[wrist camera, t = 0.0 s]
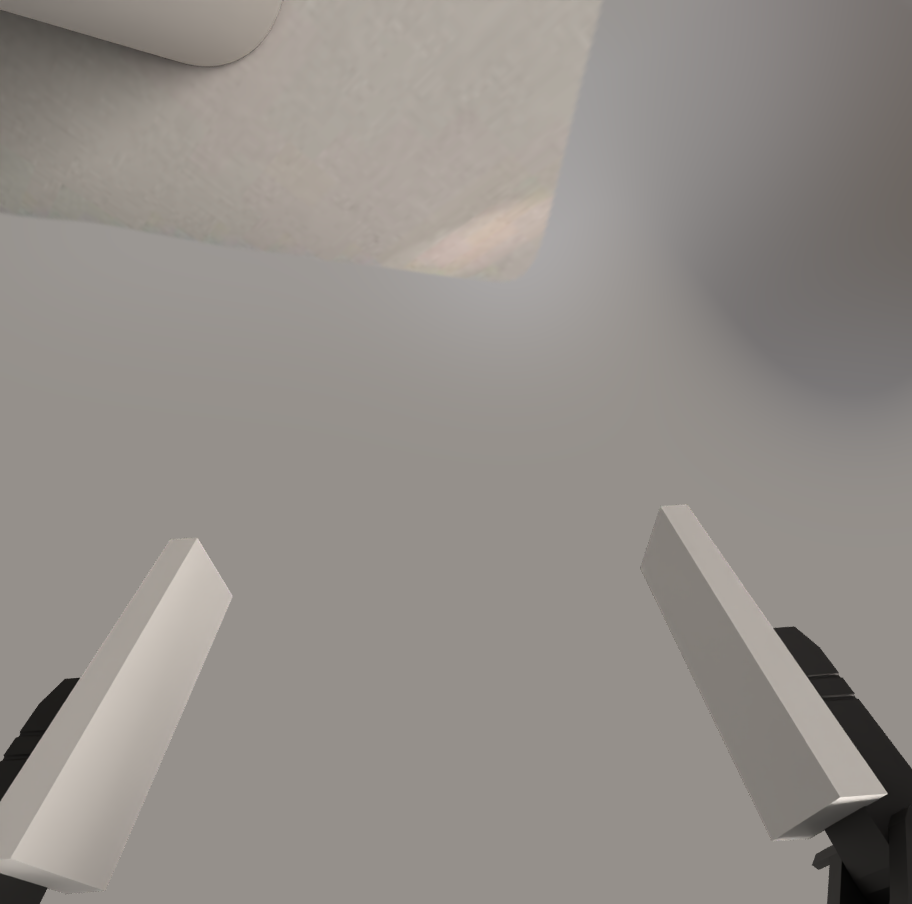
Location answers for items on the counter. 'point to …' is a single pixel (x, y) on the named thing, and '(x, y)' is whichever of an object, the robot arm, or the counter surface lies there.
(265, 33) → the cylinder vase
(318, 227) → the counter surface
